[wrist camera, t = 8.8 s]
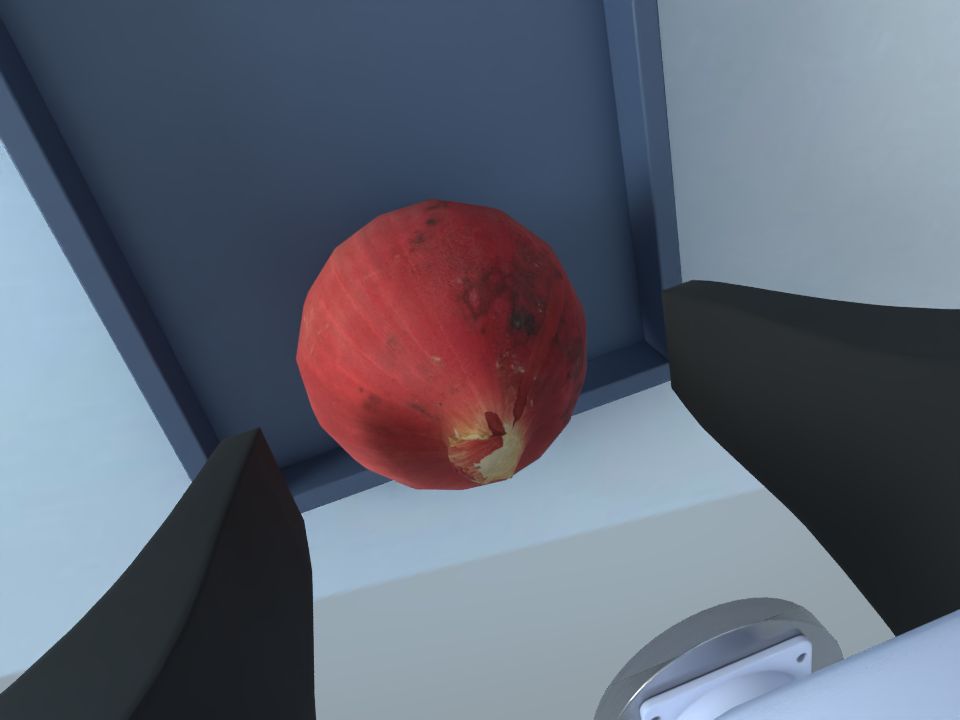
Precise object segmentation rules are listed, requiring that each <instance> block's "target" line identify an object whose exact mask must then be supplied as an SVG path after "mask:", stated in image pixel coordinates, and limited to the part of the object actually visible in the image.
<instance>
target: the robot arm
mask: <svg viewBox="0 0 960 720" xmlns="http://www.w3.org/2000/svg"><path fill="white" fill-rule="evenodd" d="M661 295H662V304H663V314H664V323H665V332H666V342H667V351H668V360H669V369H670V379H671V388H672V389H673V390H674V392H675V393H676V394H677V396H678V397H679V399H680V400H681V401H682V403H683V404H684V405H685V407H686V408H687V409H688V410H689V412H690V413H691V414H692V415H693V417H694V418H695V419H696V420H697V422H698V423H699V424H700V425H701V426H702V428H703V429H704V430H705V431H707V432H708V433H709V434H710V435H711V436H712V437H713V438H714V439H715V440H716V441H717V442H718V443H719V444H720V445H721V446H722V447H723V448H724V449H725V450H726V451H727V452H728V453H729V454H730V455H731V456H733V457H734V458H735V459H736V460H737V461H738V462H739V463H740V464H741V465H742V466H743V467H744V468H745V469H746V470H748V471H749V472H750V473H751V474H752V475H753V476H754V477H755V478H756V479H757V480H758V481H759V482H760V483H761V484H762V485H764V486H765V487H766V488H767V489H768V490H769V491H770V492H771V493H772V494H773V495H774V496H775V497H776V498H778V499H779V500H780V501H781V502H782V503H783V504H784V505H785V506H786V507H787V508H788V509H789V510H790V511H791V512H792V513H793V514H794V515H795V516H796V517H797V518H798V519H799V520H800V521H801V522H802V523H803V524H804V525H805V526H806V527H807V529H808V530H809V531H810V532H811V533H812V534H813V535H814V537H815V538H816V539H817V540H818V541H819V543H820V544H821V545H822V546H823V547H824V548H825V550H826V551H827V552H828V553H829V554H830V555H831V557H832V558H833V559H834V560H835V561H836V562H837V563H838V565H839V566H840V567H841V568H842V569H843V571H844V572H845V573H846V574H847V575H848V577H849V578H850V579H851V580H852V582H853V583H854V584H855V585H856V587H857V588H858V589H859V590H860V592H861V593H862V594H863V595H864V596H865V598H866V599H867V600H868V602H869V603H870V604H871V605H872V606H873V608H874V609H875V610H876V611H877V613H878V614H879V615H880V616H881V618H882V619H883V620H884V622H885V623H886V624H887V626H888V627H889V628H890V629H891V631H892V632H893V633H894V635H895V636H896V637H895V638H892V639H890V640H888V641H885V642H883V643H881V644H879V645H876V646H874V647H871V648H869V649H867V650H865V651H862V652H860V653H858V654H855V655H853V656H851V657H848V658H846V659H844V660H841V661H839V662H837V663H834V664H832V665H830V666H827V667H825V668H823V669H821V670H818V671H816V672H814V673H811V670H812V643H811V642H810V641H809V639H808V638H807V637H806V636H802V635H799V636H796V637H794V638H791V639H789V640H787V641H784V642H782V643H779V644H777V645H775V646H772V647H770V648H768V649H765V650H763V651H761V652H758V653H756V654H754V655H751V656H749V657H746V658H744V659H742V660H739V661H737V662H735V663H732V664H730V665H728V666H725V667H723V668H721V669H718V670H716V671H714V672H711V673H709V674H706V675H704V676H702V677H699V678H697V679H695V680H692V681H690V682H688V683H685V684H683V685H681V686H678V687H676V688H673V689H671V690H669V691H666V692H664V693H662V694H659V695H657V696H655V697H652V698H650V699H648V700H646V701H645V702H644V703H643V704H642V705H641V707H640V715H641V720H960V309H931V308H912V307H894V306H883V305H872V304H863V303H855V302H846V301H838V300H830V299H823V298H816V297H809V296H802V295H796V294H790V293H784V292H778V291H772V290H766V289H760V288H754V287H748V286H742V285H735V284H729V283H721V282H713V281H702V280H692V281H689V282H686V283H683V284H680V285H677V286H674V287H671V288H668V289H665V290H662V291H661ZM313 637H314V636H313V584H312V568H311V561H310V554H309V548H308V542H307V536H306V530H305V524H304V520H303V517H302V515H301V513H300V511H299V509H298V507H297V505H296V503H295V500H294V498H293V496H292V494H291V492H290V490H289V488H288V486H287V483H286V481H285V479H284V477H283V475H282V473H281V471H280V469H279V466H278V464H277V462H276V460H275V458H274V456H273V454H272V452H271V449H270V447H269V445H268V443H267V441H266V439H265V437H264V435H263V432H262V430H261V428H260V427H258V428H255V429H252V430H249V431H246V432H243V433H240V434H237V435H234V436H231V437H229V438H226V439H223V440H222V441H221V442H220V444H219V445H218V446H217V447H216V449H215V450H214V452H213V453H212V454H211V456H210V457H209V459H208V460H207V462H206V463H205V464H204V466H203V467H202V469H201V470H200V472H199V473H198V475H197V476H196V478H195V479H194V481H193V482H192V483H191V485H190V486H189V488H188V489H187V491H186V492H185V493H184V495H183V496H182V498H181V499H180V501H179V502H178V503H177V505H176V506H175V508H174V509H173V510H172V512H171V513H170V515H169V516H168V517H167V519H166V520H165V521H164V523H163V524H162V525H161V527H160V528H159V529H158V530H157V532H156V533H155V534H154V535H153V537H152V538H151V539H150V541H149V542H148V543H147V544H146V546H145V547H144V548H143V550H142V551H141V552H140V553H139V555H138V556H137V557H136V559H135V560H134V561H133V562H132V564H131V565H130V566H129V567H128V568H127V570H126V571H125V572H124V573H123V574H122V575H121V577H120V578H119V579H118V580H117V581H116V582H115V583H114V585H113V586H112V587H111V588H110V589H109V590H108V591H107V592H106V593H105V594H104V596H103V597H102V598H101V599H100V600H99V601H98V602H97V603H96V604H95V605H94V606H93V607H92V608H91V609H90V610H89V611H88V613H87V614H86V615H85V616H84V617H83V618H82V619H81V620H80V621H79V622H78V623H77V624H76V625H75V626H74V627H73V628H72V629H71V630H70V631H69V632H68V633H67V634H66V635H64V636H63V637H62V638H61V639H60V640H59V641H58V642H57V643H56V644H55V645H54V646H53V647H52V648H50V649H49V650H48V651H47V652H46V653H45V654H44V655H43V656H42V657H41V658H40V659H39V660H38V661H36V662H35V663H34V664H33V665H32V666H31V667H30V668H29V669H28V670H27V671H26V672H25V673H24V674H22V675H21V676H20V677H19V678H18V679H17V680H16V681H15V682H14V683H13V684H11V685H10V686H9V687H8V688H7V689H6V690H5V691H3V692H2V693H1V694H0V720H316V713H315V697H314V638H313Z"/></svg>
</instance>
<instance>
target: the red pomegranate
mask: <svg viewBox="0 0 960 720" xmlns="http://www.w3.org/2000/svg"><path fill="white" fill-rule="evenodd" d="M296 360H297V364H298V367H299V370H300V373H301V376H302V379H303V382H304V385H305V388H306V391H307V394H308V397H309V400H310V403H311V406H312V409H313V411H314V413H315V415H316V418H317V420H318V422H319V424H320V426H321V427H322V428H323V429H324V430H325V431H326V432H327V433H328V434H329V435H330V436H331V437H332V438H333V439H334V440H335V441H336V442H337V443H338V444H339V445H340V446H341V447H342V448H343V449H344V450H345V451H346V452H347V453H349V454H350V455H351V456H352V457H353V458H354V459H355V460H356V461H357V462H358V463H360V464H361V465H362V466H364V467H365V468H366V469H368V470H371V471H373V472H376V473H378V474H380V475H383V476H385V477H387V478H390V479H392V480H394V481H397V482H399V483H401V484H404V485H406V486H409V487H412V488H415V489H437V490H464V489H469V488H473V487H477V486H482V485H486V484H490V483H494V482H499V481H503V480H506V479H508V478H512V476H513V475H514V474H516V473H517V472H519V471H520V470H522V469H523V468H525V467H526V466H528V465H529V464H531V463H533V462H534V461H536V460H537V459H539V458H540V457H541V456H542V455H543V453H544V452H545V451H546V450H547V449H548V447H549V446H550V445H551V444H552V443H553V441H554V440H555V439H556V438H557V436H558V435H559V434H560V433H561V432H562V430H563V429H564V428H565V427H566V425H567V424H568V423H569V421H570V419H571V416H572V414H573V411H574V408H575V405H576V403H577V400H578V397H579V395H580V392H581V389H582V387H583V384H584V380H585V376H586V371H587V343H586V319H585V314H584V308H583V306H582V304H581V302H580V300H579V298H578V296H577V294H576V292H575V290H574V288H573V286H572V285H571V283H570V281H569V279H568V277H567V275H566V273H565V271H564V269H563V267H562V265H561V263H560V261H559V259H558V258H557V256H556V254H555V253H554V251H553V250H552V248H551V246H550V245H549V244H548V243H546V242H545V241H544V240H542V239H541V238H539V237H538V236H537V235H535V234H534V233H532V232H531V231H530V230H528V229H527V228H525V227H524V226H523V225H521V224H520V223H519V222H517V221H516V220H514V219H513V218H512V217H510V216H509V215H507V214H506V213H505V212H503V211H502V210H499V209H495V208H492V207H488V206H481V205H474V204H467V203H460V202H453V201H446V200H439V199H429V200H425V201H422V202H419V203H416V204H413V205H410V206H407V207H404V208H401V209H398V210H395V211H391V212H388V213H385V214H382V215H379V216H377V217H376V218H375V219H373V220H372V221H371V222H369V223H368V224H367V225H365V226H364V227H363V228H361V229H360V230H359V231H357V232H356V233H355V234H353V235H352V236H351V237H349V238H348V239H347V240H345V241H344V242H343V243H341V244H340V245H339V246H337V247H336V248H335V249H334V251H333V253H332V254H331V256H330V257H329V259H328V261H327V262H326V264H325V266H324V267H323V269H322V270H321V272H320V274H319V275H318V277H317V279H316V280H315V282H314V283H313V285H312V287H311V288H310V290H309V291H308V294H307V297H306V300H305V302H304V307H303V314H302V321H301V328H300V335H299V342H298V349H297V356H296Z"/></svg>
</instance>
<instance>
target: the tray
mask: <svg viewBox="0 0 960 720" xmlns="http://www.w3.org/2000/svg"><path fill="white" fill-rule="evenodd" d="M0 140H1V142H2V144H3V145H4V147H5V149H6V151H7V152H8V154H9V156H10V158H11V160H12V161H13V163H14V165H15V167H16V169H17V170H18V172H19V174H20V176H21V177H22V179H23V181H24V183H25V185H26V186H27V188H28V190H29V192H30V194H31V195H32V197H33V199H34V201H35V202H36V204H37V206H38V208H39V210H40V211H41V213H42V215H43V217H44V219H45V220H46V222H47V224H48V226H49V227H50V229H51V231H52V233H53V235H54V236H55V238H56V240H57V242H58V244H59V245H60V247H61V249H62V251H63V253H64V254H65V256H66V258H67V260H68V261H69V263H70V265H71V267H72V269H73V270H74V272H75V274H76V276H77V278H78V279H79V281H80V283H81V285H82V286H83V288H84V290H85V292H86V294H87V295H88V297H89V299H90V301H91V303H92V304H93V306H94V308H95V310H96V311H97V313H98V315H99V317H100V319H101V320H102V322H103V324H104V326H105V328H106V329H107V331H108V333H109V335H110V336H111V338H112V340H113V342H114V344H115V345H116V347H117V349H118V351H119V353H120V354H121V356H122V358H123V360H124V361H125V363H126V365H127V367H128V369H129V370H130V372H131V374H132V376H133V378H134V379H135V381H136V383H137V385H138V387H139V388H140V390H141V392H142V394H143V395H144V397H145V399H146V401H147V403H148V404H149V406H150V408H151V410H152V412H153V413H154V415H155V417H156V419H157V420H158V422H159V424H160V426H161V428H162V429H163V431H164V433H165V435H166V437H167V438H168V440H169V442H170V444H171V445H172V447H173V449H174V451H175V453H176V454H177V456H178V458H179V460H180V462H181V463H182V465H183V467H184V469H185V470H186V472H187V474H188V476H189V478H190V479H191V481H192V482H193V481H194V479H195V478H196V476H197V475H198V473H199V472H200V470H201V469H202V467H203V466H204V464H205V463H206V462H207V460H208V459H209V457H210V456H211V454H212V453H213V452H214V450H215V449H216V447H217V446H218V445H219V444H220V442H221V441H222V440H223V439H226V438H229V437H231V436H234V435H237V434H240V433H243V432H246V431H249V430H252V429H255V428H258V427H260V428H261V430H262V432H263V435H264V437H265V439H266V441H267V443H268V445H269V447H270V449H271V452H272V454H273V456H274V458H275V460H276V462H277V464H278V466H279V469H280V471H281V473H282V475H283V477H284V479H285V481H286V483H287V486H288V488H289V490H290V492H291V494H292V496H293V498H294V500H295V503H296V505H297V507H298V509H299V511H300V513H303V512H306V511H309V510H311V509H314V508H317V507H320V506H323V505H325V504H328V503H331V502H334V501H337V500H339V499H342V498H345V497H348V496H350V495H353V494H356V493H359V492H362V491H364V490H367V489H370V488H373V487H375V486H378V485H381V484H384V483H387V482H389V481H392V479H390V478H387V477H385V476H383V475H380V474H378V473H376V472H373V471H371V470H368V469H366V468H365V467H364V466H362V465H361V464H360V463H358V462H357V461H356V460H355V459H354V458H353V457H352V456H351V455H350V454H349V453H347V452H346V451H345V450H344V449H343V448H342V447H341V446H340V445H339V444H338V443H337V442H336V441H335V440H334V439H333V438H332V437H331V436H330V435H329V434H328V433H327V432H326V431H325V430H324V429H323V428H322V427H321V426H320V424H319V422H318V420H317V418H316V415H315V413H314V411H313V409H312V406H311V403H310V400H309V397H308V394H307V391H306V388H305V385H304V382H303V379H302V376H301V373H300V370H299V367H298V364H297V360H296V356H297V349H298V342H299V335H300V328H301V321H302V314H303V307H304V302H305V300H306V297H307V294H308V291H309V290H310V288H311V287H312V285H313V283H314V282H315V280H316V279H317V277H318V275H319V274H320V272H321V270H322V269H323V267H324V266H325V264H326V262H327V261H328V259H329V257H330V256H331V254H332V253H333V251H334V249H335V248H336V247H337V246H339V245H340V244H341V243H343V242H344V241H345V240H347V239H348V238H349V237H351V236H352V235H353V234H355V233H356V232H357V231H359V230H360V229H361V228H363V227H364V226H365V225H367V224H368V223H369V222H371V221H372V220H373V219H375V218H376V217H377V216H379V215H382V214H385V213H388V212H391V211H395V210H398V209H401V208H404V207H407V206H410V205H413V204H416V203H419V202H422V201H425V200H429V199H439V200H446V201H453V202H460V203H467V204H474V205H481V206H488V207H492V208H495V209H499V210H502V211H503V212H505V213H506V214H507V215H509V216H510V217H512V218H513V219H514V220H516V221H517V222H519V223H520V224H521V225H523V226H524V227H525V228H527V229H528V230H530V231H531V232H532V233H534V234H535V235H537V236H538V237H539V238H541V239H542V240H544V241H545V242H546V243H548V244H549V245H550V246H551V248H552V250H553V251H554V253H555V254H556V256H557V258H558V259H559V261H560V263H561V265H562V267H563V269H564V271H565V273H566V275H567V277H568V279H569V281H570V283H571V285H572V286H573V288H574V290H575V292H576V294H577V296H578V298H579V300H580V302H581V304H582V306H583V308H584V314H585V319H586V343H587V371H586V376H585V380H584V384H583V387H582V389H581V392H580V395H579V397H578V400H577V403H576V405H575V408H574V411H573V414H572V416H573V415H576V414H579V413H581V412H584V411H587V410H590V409H592V408H595V407H598V406H601V405H604V404H606V403H609V402H612V401H615V400H617V399H620V398H623V397H626V396H629V395H631V394H634V393H637V392H640V391H642V390H645V389H648V388H651V387H654V386H656V385H659V384H662V383H665V382H668V381H670V380H671V379H670V369H669V360H668V351H667V342H666V332H665V323H664V314H663V304H662V295H661V291H662V290H665V289H668V288H671V287H674V286H677V285H680V284H682V277H681V265H680V254H679V243H678V231H677V220H676V209H675V197H674V186H673V175H672V164H671V152H670V141H669V130H668V118H667V107H666V96H665V84H664V73H663V62H662V50H661V39H660V28H659V16H658V5H657V0H0Z"/></svg>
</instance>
